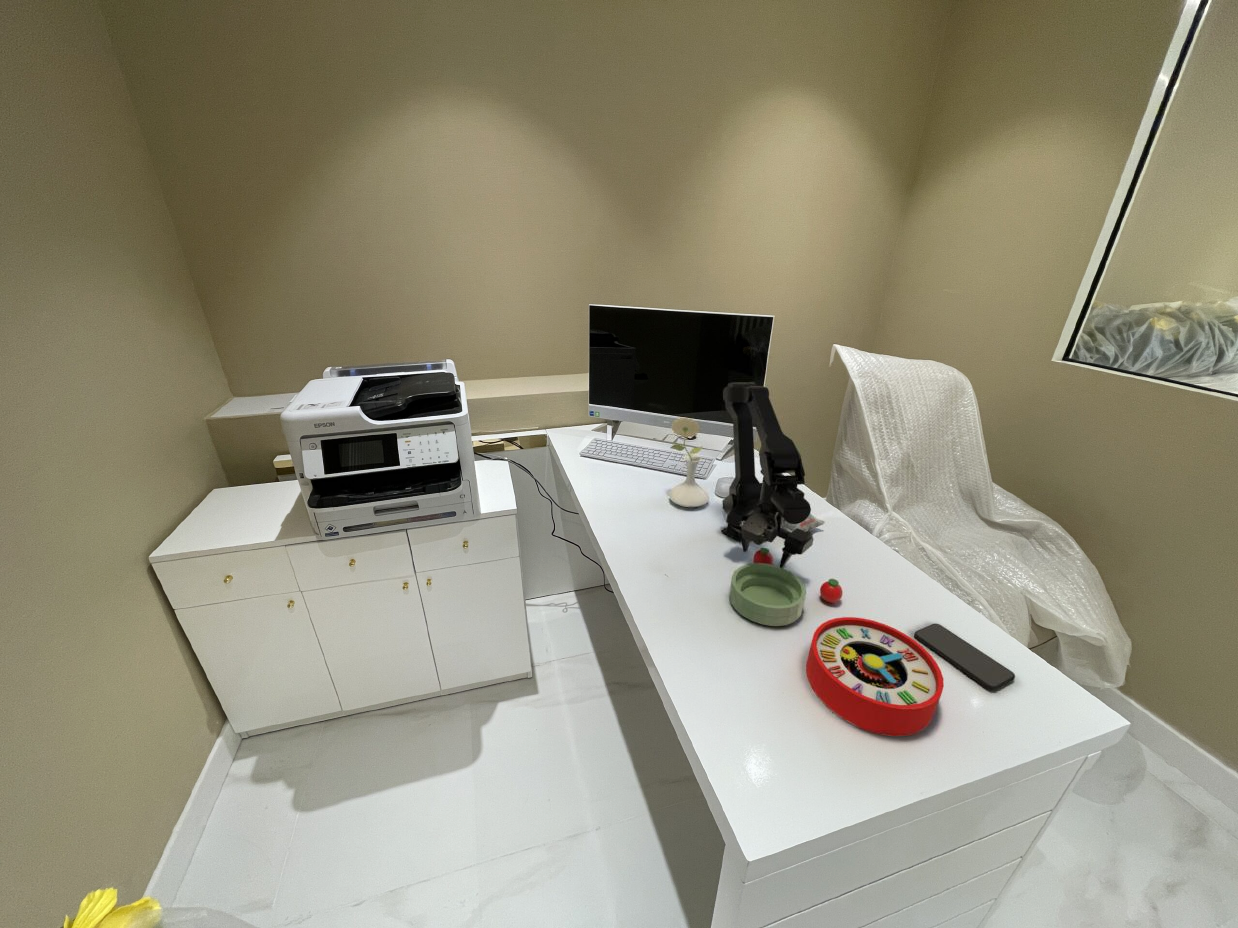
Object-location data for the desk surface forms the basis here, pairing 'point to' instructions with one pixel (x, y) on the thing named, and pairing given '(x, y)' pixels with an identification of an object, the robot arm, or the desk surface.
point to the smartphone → (965, 656)
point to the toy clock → (874, 676)
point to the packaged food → (804, 524)
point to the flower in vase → (688, 468)
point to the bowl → (767, 594)
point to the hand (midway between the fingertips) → (762, 559)
